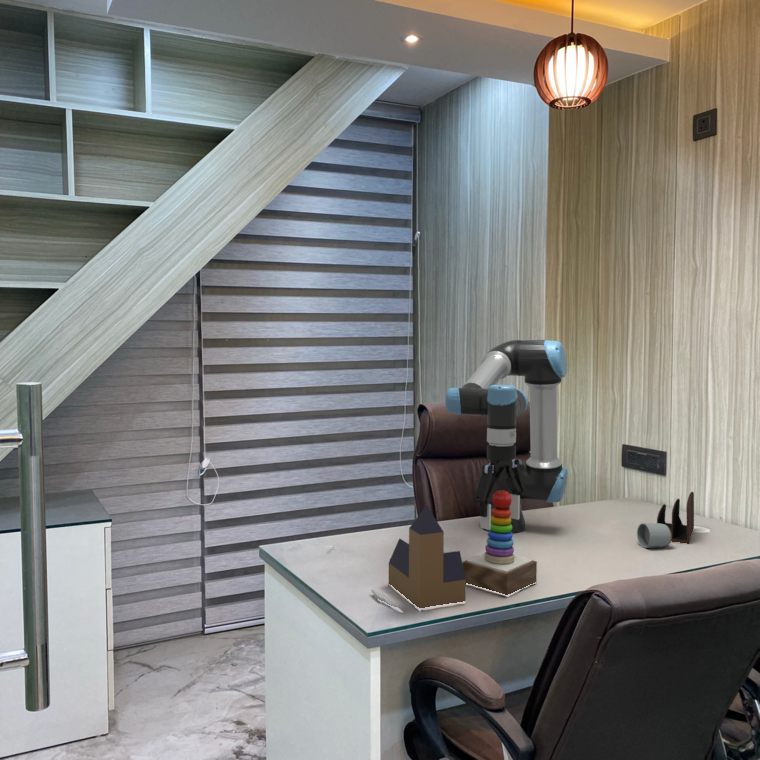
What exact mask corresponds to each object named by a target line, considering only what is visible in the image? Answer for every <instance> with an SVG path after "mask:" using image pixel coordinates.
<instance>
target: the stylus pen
mask: <svg viewBox="0 0 760 760" xmlns="http://www.w3.org/2000/svg"><path fill="white" fill-rule="evenodd" d="M371 593H373V595H374V596H375V597H376V598H377V599H379V600H381V601H384V602H386V603H387V604H389V605H391V606H394V607H399V606H398V605H397V604H396V603H395V602H394V601H393V600H391V598H390V597H389V596H388V594H386V593H382V592H380V591H378V590H376V589H375V588H372V589H371ZM374 596H373V597H374ZM375 597H374V598H375ZM376 598H375V599H376ZM377 599H376V600H377Z"/></svg>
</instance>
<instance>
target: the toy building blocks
mask: <svg viewBox="0 0 760 760" xmlns="http://www.w3.org/2000/svg"><path fill="white" fill-rule="evenodd" d="M444 534H445V533H444V530H443V528H442V527H441V525H440V524H439V522H438V521H437V519H436V518H435V516H434V514H433V513H432V511H431V510H430V508H429V506H428V505H427V504H426V505H425V506H424V507H423V509H422V510H421V512H420V513H419V514H418V516H417V517H416V518H415V519H414V520H413V522H412V524H411V525H410V526H409V528H408V537H409V538H408V542H407V541H405V540H404V539H402V538H399V539H398V540H397V543H396V545H395V548H394V549H393V552H392V554H391V556H390V559H389V561H388V585H389V584H390V585H392V586H393V587H394V588H395V589H396V590H398V591H399V592H400V593H401V594H403V595H404V596H405V597H406V598H407V599H409V600H410V601H411V602H412V603H413V604H415V605H416V606H417V607H419V608H425V607H430V606H436V605H443V604H449V603H457V602H463V601H466V595H467V594H466V589H467V585H466V578H465V573H464V569H463V560H462V555H461V551H460V550H457V551H449V552H444V547H445V546H444V540H445V538H444V537H445V536H444Z"/></svg>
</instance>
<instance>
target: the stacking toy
mask: <svg viewBox="0 0 760 760" xmlns="http://www.w3.org/2000/svg"><path fill="white" fill-rule="evenodd" d="M511 501H512V498H511V495H510V494H509V493H508V492H507V491H504V490H499V491H497V492H495V493H494V495H493V497H492V502H493V504H494V506H495V508H493V509H492V514H493V516H491V522H492V523H491V529H490V530H489V531H487V537H488V538H487V539H486V545H485V547H484V548H485V549H484V550H485V552H484V553H485V554H484V553H483V554H484V557H485V559H486V560H487V561H489V562H492V563H496V564H507V563H511V562H513V561H514V559H515V556H516V555H515V554H514V552H515V549H514V547H513V546H514V540H513V537H514V536H513V535H514V533H512V532H511V530H512V525H511V524H510V523H511V518H510V517H509V516H510V515H511V510H510V509H508V507H509V506H510V505H511ZM514 555H515V556H514Z"/></svg>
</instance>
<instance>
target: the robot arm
mask: <svg viewBox="0 0 760 760" xmlns="http://www.w3.org/2000/svg"><path fill="white" fill-rule="evenodd" d="M566 355H567V354H566V351H565V348H564V346H563V344H562V343H561V342H560V341H558V340H548V339H533V340H532V339H530V340H529V339H526V340H525V339H524V340H523V339H521V340H520V339H513V340H509V341H505V342H502V343H500V344H498V345H496V346H495V347H493V348H491V349H490V350H489V351H488V352H487V353H486V354H485V355H484V356H483V357H482V360H481V364H480V365H479V367H478V368H477V369H476V370H475V371H474V373H473V374H472V375H471V376H470V377H469V378H468V380H467V381H466V382H465V383H464V385H462V386H461V387H450V388H448V389H447V391H446V394H445V400H444V401H445V408H446V410H447V411H446V412H448V413H449V414H452V415H459V416H479V417H480V416H481V417H482V416H484V417H485V416H486V417H487V418H486V419H487V422H486V423H487V424H486V425H487V427H486V442H487V443H488V444H487V445H486V458H487V459H489V460H490V462H489V463H488V464H483V465H482V467H481V468H482V469H481V475H480V480H479V483H478V487H477V489H476V493H475V497H474V502H475V503H477V504H479V515H480V516H479V517H480V518H479V519H480V521H479V522H480V523H479V525H480V529H483V530H484V529H485V531H487V532H489V530H490V529H491V523H492V522H491V516H493V514H492V509H493V508H495V506H494V504H493V502H492V497H493V495H494V493H495V492H497V491H499V490H504V491H507V492H508V493H509V494H510V495H511V498H512V501H511V505H510V506H509V507H508V509H510V510H511V515H510V516H509V517H510V518H511V523H510V524H511V525H512V530H511V532H512V534H516V533H520V532H521V533H522V532H524V531H525V530H526V523H527V522H526V519H525V516H524V513H523V509H522V506H521V504H522V503H521V501H522V500H524V501H535V502H545V503H559V502H561V501H562V499H563V498H564V495H565V492H566V487H567V483H568V482H567V480H568V468H566V467H564V466H563V461H562V460H561V459H560V458H559V457H558V413H557V412H558V409H557V407H558V403H557V401H558V400H557V399H558V398H557V394H558V393H557V391H558V390H557V388H558V386H559V385H560V384H561V383H562V379H563V378H565V377H566V376H567V371H568V370H567V368H568V367H567V357H566ZM507 376H511V377H512V376H513V377H514V376H515V377H516V376H518V377H524V383H525V385H526V386H528V388H529V400H528V396H527V395H526V393H525V392H524V391H523V390H520V389H518V388H517V387H516V386H515V385H512V384H498V383H500V381H501V380H502V379H503V380H504V378H506V377H507ZM528 405H529V432H530V433H529V435H530V437H529V438H530V457H529V458H528V459H526V462H525V464H523V462H522V460H521V459H519V458H517V446H516V442H517V417H520V416H522V414H524V412H526V410H527V408H528Z"/></svg>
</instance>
